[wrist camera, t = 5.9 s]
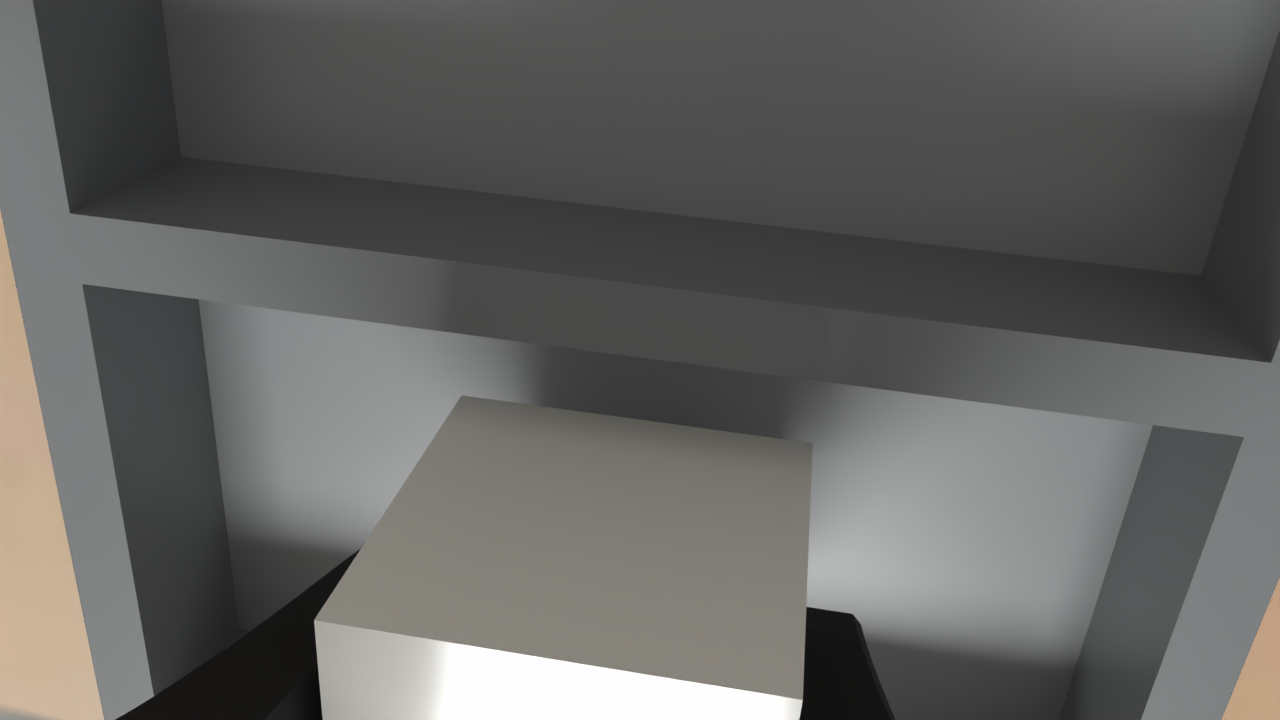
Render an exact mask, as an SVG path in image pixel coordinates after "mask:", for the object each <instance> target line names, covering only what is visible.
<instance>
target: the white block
mask: <svg viewBox="0 0 1280 720" xmlns="http://www.w3.org/2000/svg"><path fill="white" fill-rule="evenodd" d="M812 446H813V443H808V442H801V441H793V440H786V439H779V438H771V437H764V436H757V435H749V434H742V433H735V432H727V431H720V430H713V429H705V428H698V427H691V426H683V425H676V424H669V423H661V422H654V421H647V420H639V419H632V418H625V417H617V416H610V415H603V414H595V413H588V412H581V411H573V410H566V409H559V408H551V407H544V406H537V405H529V404H522V403H515V402H507V401H500V400H493V399H485V398H478V397H471V396H463V395H462V396H461V397H460V399H459V400H458V402H457V403H456V405H455V406H454V408H453V409H452V411H451V412H450V414H449V415H448V417H447V419H446V420H445V422H444V423H443V425H442V426H441V428H440V429H439V431H438V432H437V434H436V435H435V437H434V438H433V440H432V441H431V443H430V444H429V446H428V447H427V449H426V450H425V452H424V454H423V455H422V457H421V458H420V460H419V461H418V463H417V464H416V466H415V467H414V469H413V470H412V472H411V473H410V475H409V476H408V478H407V479H406V481H405V482H404V484H403V486H402V487H401V489H400V490H399V492H398V493H397V495H396V496H395V498H394V499H393V501H392V502H391V504H390V505H389V507H388V508H387V510H386V511H385V513H384V514H383V516H382V517H381V519H380V521H379V522H378V524H377V525H376V527H375V528H374V530H373V531H372V533H371V534H370V536H369V537H368V539H367V540H366V542H365V543H364V545H363V546H362V548H361V549H360V551H359V553H358V554H357V556H356V557H355V559H354V560H353V562H352V563H351V565H350V566H349V568H348V569H347V571H346V572H345V574H344V575H343V577H342V578H341V580H340V581H339V583H338V584H337V586H336V588H335V589H334V591H333V592H332V594H331V595H330V597H329V598H328V600H327V601H326V603H325V604H324V606H323V607H322V609H321V610H320V612H319V613H318V615H317V616H316V618H315V620H314V626H315V638H316V649H317V661H318V672H319V684H320V695H321V707H322V718H323V720H799V719H800V713H801V707H802V702H803V681H804V655H805V629H806V603H807V577H808V551H809V524H810V498H811V472H812Z"/></svg>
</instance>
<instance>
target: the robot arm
mask: <svg viewBox="0 0 1280 720" xmlns="http://www.w3.org/2000/svg"><path fill="white" fill-rule="evenodd" d="M359 551H360V549H359V550H358V551H357V552H355V553H354V554H352V555H351V556H350V557H348V558H347V559H346V560H344V561H343V562H342V563H340V564H339V565H338V566H336V567H335V568H334V569H332V570H331V571H330V572H328V573H327V574H326V575H324V576H323V577H322V578H321V579H319V580H318V581H317V582H315V583H314V584H313V585H311V586H310V587H309V588H307V589H306V590H305V591H303V592H302V593H301V594H299V595H298V596H297V597H295V598H294V599H293V600H292V601H290V602H289V603H288V604H286V605H285V606H284V607H282V608H281V609H280V610H278V611H277V612H276V613H274V614H273V615H271V616H270V617H269V618H267V619H266V620H264V621H263V622H262V623H260V624H259V625H258V626H256V627H255V628H253V629H252V630H251V631H249V632H248V633H247V634H245V635H244V636H242V637H241V638H240V639H238V640H237V641H236V642H234V643H233V644H231V645H230V646H229V647H227V648H226V649H224V650H223V651H222V652H220V653H219V654H217V655H216V656H214V657H213V658H211V659H210V660H208V661H207V662H205V663H204V664H202V665H201V666H199V667H198V668H196V669H195V670H193V671H191V672H190V673H188V674H187V675H185V676H184V677H182V678H181V679H179V680H178V681H176V682H175V683H173V684H172V685H170V686H169V687H167V688H166V689H164V690H163V691H161V692H160V693H158V694H157V695H155V696H154V697H152V698H150V699H149V700H147V701H146V702H144V703H142V704H141V705H139V706H137V707H136V708H134V709H132V710H131V711H129V712H127V713H126V714H124V715H122V716H120V717H119V718H117V719H115V720H323V718H322V707H321V695H320V684H319V672H318V661H317V649H316V638H315V626H314V620H315V618H316V616H317V615H318V613H319V612H320V610H321V609H322V607H323V606H324V604H325V603H326V601H327V600H328V598H329V597H330V595H331V594H332V592H333V591H334V589H335V588H336V586H337V584H338V583H339V581H340V580H341V578H342V577H343V575H344V574H345V572H346V571H347V569H348V568H349V566H350V565H351V563H352V562H353V560H354V559H355V557H356V556H357V554H358V553H359ZM799 720H895V717H894V715H893V713H892V711H891V708H890V706H889V703H888V701H887V698H886V696H885V693H884V691H883V688H882V686H881V683H880V681H879V678H878V676H877V673H876V670H875V668H874V665H873V662H872V659H871V656H870V653H869V650H868V647H867V644H866V641H865V637H864V634H863V630H862V626H861V624H860V623H859V621H858V620H857V619H856V618H855V616H854V615H853V614H850V613H844V612H837V611H831V610H824V609H818V608H811V607H806V629H805V655H804V681H803V702H802V707H801V713H800V719H799Z"/></svg>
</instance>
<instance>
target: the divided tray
mask: <svg viewBox="0 0 1280 720" xmlns="http://www.w3.org/2000/svg"><path fill="white" fill-rule="evenodd" d="M0 209H1V214H2V219H3V224H4V229H5V234H6V239H7V243H8V248H9V253H10V258H11V263H12V268H13V273H14V278H15V283H16V288H17V293H18V297H19V302H20V307H21V312H22V317H23V322H24V327H25V332H26V337H27V342H28V347H29V352H30V356H31V361H32V366H33V371H34V376H35V381H36V386H37V391H38V396H39V401H40V406H41V410H42V415H43V420H44V425H45V430H46V435H47V440H48V445H49V450H50V455H51V460H52V465H53V469H54V474H55V479H56V484H57V489H58V494H59V499H60V504H61V509H62V514H63V519H64V523H65V528H66V533H67V538H68V543H69V548H70V553H71V558H72V563H73V568H74V573H75V578H76V582H77V587H78V592H79V597H80V602H81V607H82V612H83V617H84V622H85V627H86V632H87V636H88V641H89V646H90V651H91V656H92V661H93V666H94V671H95V676H96V681H97V686H98V691H99V695H100V700H101V705H102V710H103V715H104V720H115V719H117V718H119V717H120V716H122V715H124V714H126V713H127V712H129V711H131V710H132V709H134V708H136V707H137V706H139V705H141V704H142V703H144V702H146V701H147V700H149V699H150V698H152V697H154V696H155V695H157V694H158V693H160V692H161V691H163V690H164V689H166V688H167V687H169V686H170V685H172V684H173V683H175V682H176V681H178V680H179V679H181V678H182V677H184V676H185V675H187V674H188V673H190V672H191V671H193V670H195V669H196V668H198V667H199V666H201V665H202V664H204V663H205V662H207V661H208V660H210V659H211V658H213V657H214V656H216V655H217V654H219V653H220V652H222V651H223V650H224V649H226V648H227V647H229V646H230V645H231V644H233V643H234V642H236V641H237V640H238V639H240V638H241V637H242V636H244V635H245V634H247V633H248V632H249V631H251V630H252V629H253V628H255V627H256V626H258V625H259V624H260V623H262V622H263V621H264V620H266V619H267V618H269V617H270V616H271V615H273V614H274V613H276V612H277V611H278V610H280V609H281V608H282V607H284V606H285V605H286V604H288V603H289V602H290V601H292V600H293V599H294V598H295V597H297V596H298V595H299V594H301V593H302V592H303V591H305V590H306V589H307V588H309V587H310V586H311V585H313V584H314V583H315V582H317V581H318V580H319V579H321V578H322V577H323V576H324V575H326V574H327V573H328V572H330V571H331V570H332V569H334V568H335V567H336V566H338V565H339V564H340V563H342V562H343V561H344V560H346V559H347V558H348V557H350V556H351V555H352V554H354V553H355V552H357V551H358V550H359V549H361V548H362V546H363V545H364V543H365V542H366V540H367V539H368V537H369V536H370V534H371V533H372V531H373V530H374V528H375V527H376V525H377V524H378V522H379V521H380V519H381V517H382V516H383V514H384V513H385V511H386V510H387V508H388V507H389V505H390V504H391V502H392V501H393V499H394V498H395V496H396V495H397V493H398V492H399V490H400V489H401V487H402V486H403V484H404V482H405V481H406V479H407V478H408V476H409V475H410V473H411V472H412V470H413V469H414V467H415V466H416V464H417V463H418V461H419V460H420V458H421V457H422V455H423V454H424V452H425V450H426V449H427V447H428V446H429V444H430V443H431V441H432V440H433V438H434V437H435V435H436V434H437V432H438V431H439V429H440V428H441V426H442V425H443V423H444V422H445V420H446V419H447V417H448V415H449V414H450V412H451V411H452V409H453V408H454V406H455V405H456V403H457V402H458V400H459V399H460V397H461V396H462V395H463V396H471V397H478V398H485V399H493V400H500V401H507V402H515V403H522V404H529V405H537V406H544V407H551V408H559V409H566V410H573V411H581V412H588V413H595V414H603V415H610V416H617V417H625V418H632V419H639V420H647V421H654V422H661V423H669V424H676V425H683V426H691V427H698V428H705V429H713V430H720V431H727V432H735V433H742V434H749V435H757V436H764V437H771V438H779V439H786V440H793V441H801V442H808V443H813V446H812V472H811V498H810V524H809V551H808V577H807V603H806V607H811V608H818V609H824V610H831V611H837V612H844V613H850V614H853V615H854V616H855V618H856V619H857V620H858V621H859V623H860V624H861V626H862V630H863V634H864V637H865V641H866V644H867V647H868V650H869V653H870V656H871V659H872V662H873V665H874V668H875V670H876V673H877V676H878V678H879V681H880V683H881V686H882V688H883V691H884V693H885V696H886V698H887V701H888V703H889V706H890V708H891V711H892V713H893V715H894V717H895V720H1221V719H1222V717H1223V714H1224V712H1225V709H1226V707H1227V704H1228V702H1229V700H1230V697H1231V695H1232V692H1233V690H1234V687H1235V685H1236V682H1237V680H1238V678H1239V675H1240V673H1241V670H1242V668H1243V665H1244V663H1245V660H1246V658H1247V656H1248V653H1249V651H1250V648H1251V646H1252V643H1253V641H1254V638H1255V636H1256V634H1257V631H1258V629H1259V626H1260V624H1261V621H1262V619H1263V616H1264V614H1265V612H1266V609H1267V607H1268V604H1269V602H1270V599H1271V597H1272V594H1273V592H1274V590H1275V587H1276V585H1277V582H1278V580H1279V577H1280V0H0Z"/></svg>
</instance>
